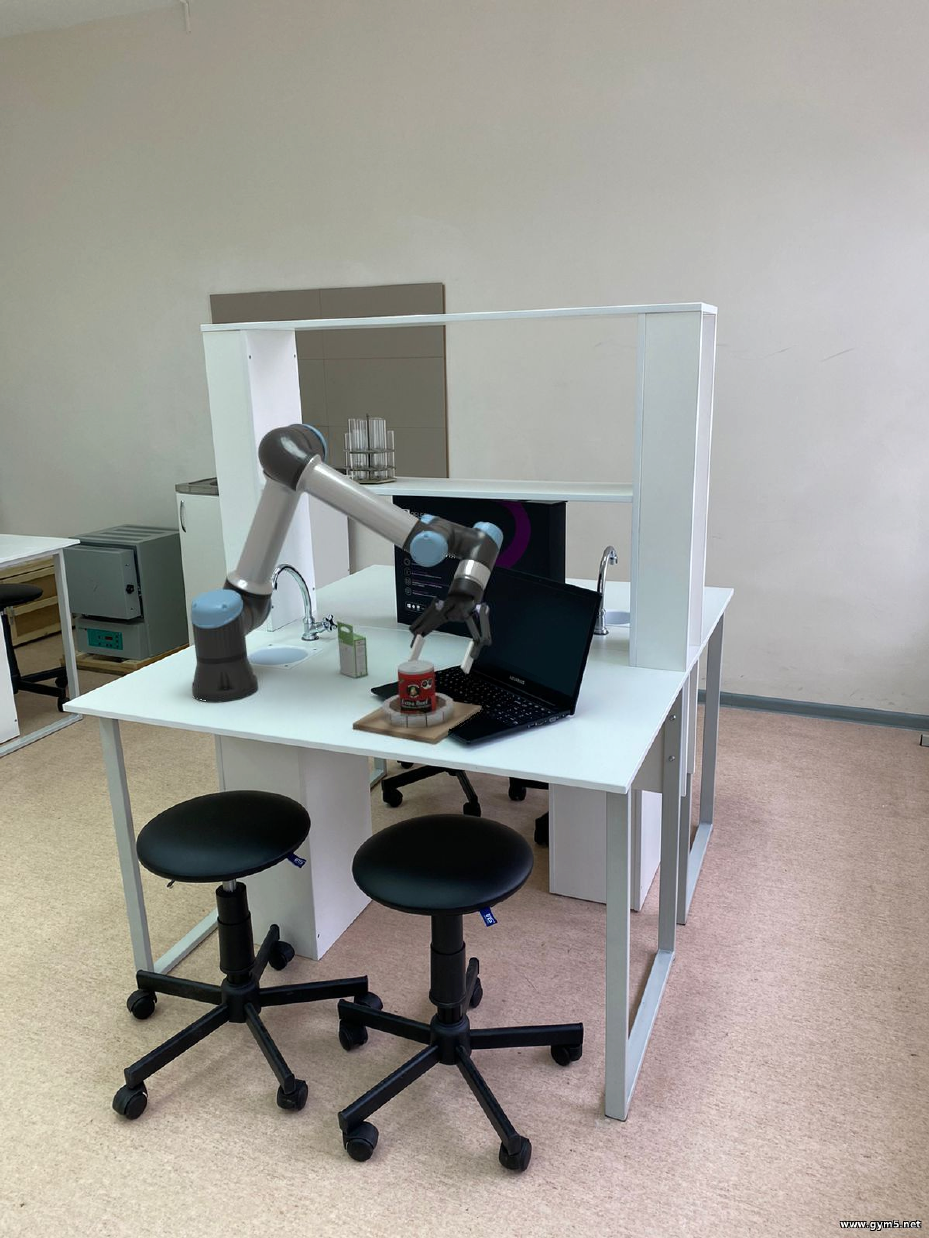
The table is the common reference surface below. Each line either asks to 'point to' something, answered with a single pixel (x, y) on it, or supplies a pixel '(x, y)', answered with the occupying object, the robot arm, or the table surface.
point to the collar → (417, 719)
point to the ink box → (352, 652)
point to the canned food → (416, 687)
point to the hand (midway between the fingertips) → (437, 666)
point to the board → (427, 735)
